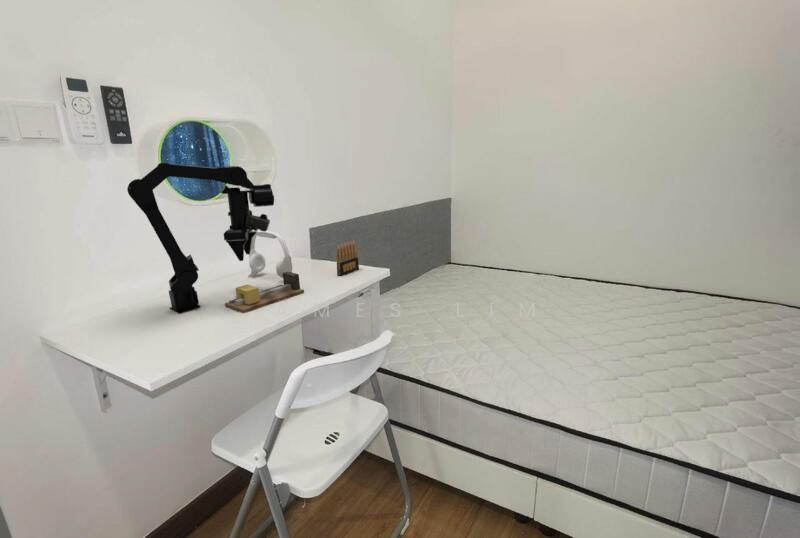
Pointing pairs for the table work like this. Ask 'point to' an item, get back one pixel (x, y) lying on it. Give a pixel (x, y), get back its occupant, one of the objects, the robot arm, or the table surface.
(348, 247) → the ammunition clip
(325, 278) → the table surface
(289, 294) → the rail board
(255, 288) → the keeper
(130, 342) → the table surface
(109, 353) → the table surface
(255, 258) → the headset
